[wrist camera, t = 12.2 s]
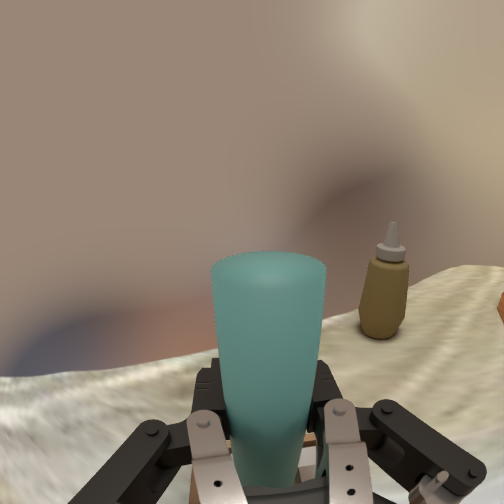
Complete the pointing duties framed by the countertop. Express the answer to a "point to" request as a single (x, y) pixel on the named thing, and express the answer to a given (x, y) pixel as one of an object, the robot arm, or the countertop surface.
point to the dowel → (268, 357)
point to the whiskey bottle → (501, 306)
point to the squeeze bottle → (385, 288)
